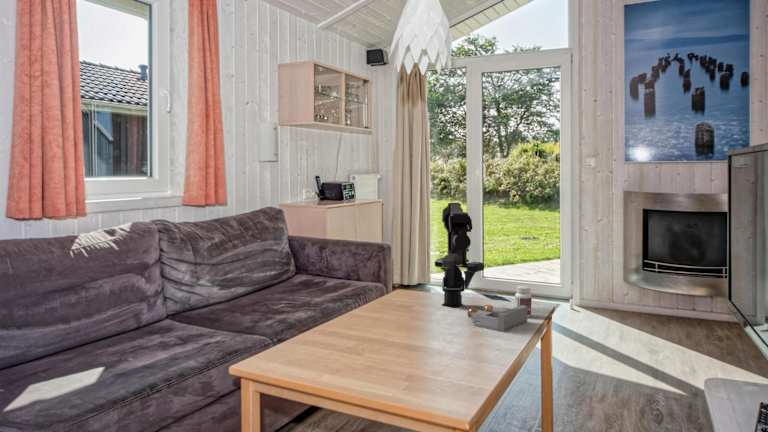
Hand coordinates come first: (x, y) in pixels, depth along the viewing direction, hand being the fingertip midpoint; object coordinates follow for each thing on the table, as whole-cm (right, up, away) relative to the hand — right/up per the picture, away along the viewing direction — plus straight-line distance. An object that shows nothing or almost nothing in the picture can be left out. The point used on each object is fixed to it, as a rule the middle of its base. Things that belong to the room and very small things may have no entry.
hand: (458, 287), depth 211 cm
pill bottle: (+26, -12, +5) cm, 29 cm away
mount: (+15, -13, -7) cm, 20 cm away
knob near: (+7, -11, -5) cm, 14 cm away
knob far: (+14, -11, -1) cm, 17 cm away
